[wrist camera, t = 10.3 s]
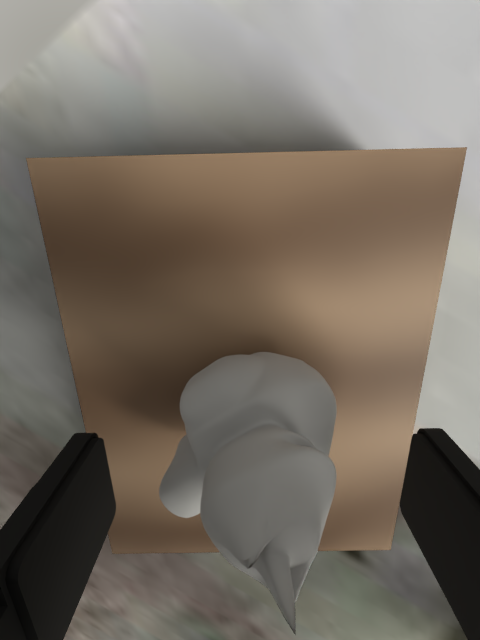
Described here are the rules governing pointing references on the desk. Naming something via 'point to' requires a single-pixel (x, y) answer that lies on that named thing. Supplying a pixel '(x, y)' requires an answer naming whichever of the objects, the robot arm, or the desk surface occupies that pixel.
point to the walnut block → (249, 306)
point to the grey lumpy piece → (257, 466)
